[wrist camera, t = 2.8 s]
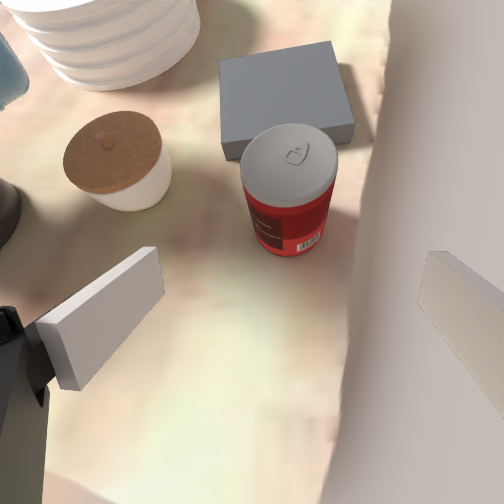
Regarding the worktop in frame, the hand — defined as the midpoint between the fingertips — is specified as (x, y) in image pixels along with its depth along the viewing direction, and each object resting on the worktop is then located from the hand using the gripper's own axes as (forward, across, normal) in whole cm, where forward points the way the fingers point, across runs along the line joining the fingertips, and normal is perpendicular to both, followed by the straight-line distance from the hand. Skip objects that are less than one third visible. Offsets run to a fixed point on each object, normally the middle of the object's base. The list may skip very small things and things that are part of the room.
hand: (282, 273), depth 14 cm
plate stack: (+46, -31, +25) cm, 61 cm away
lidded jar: (+22, -19, +1) cm, 29 cm away
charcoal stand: (+31, -2, +10) cm, 33 cm away
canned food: (+18, 0, -3) cm, 19 cm away
